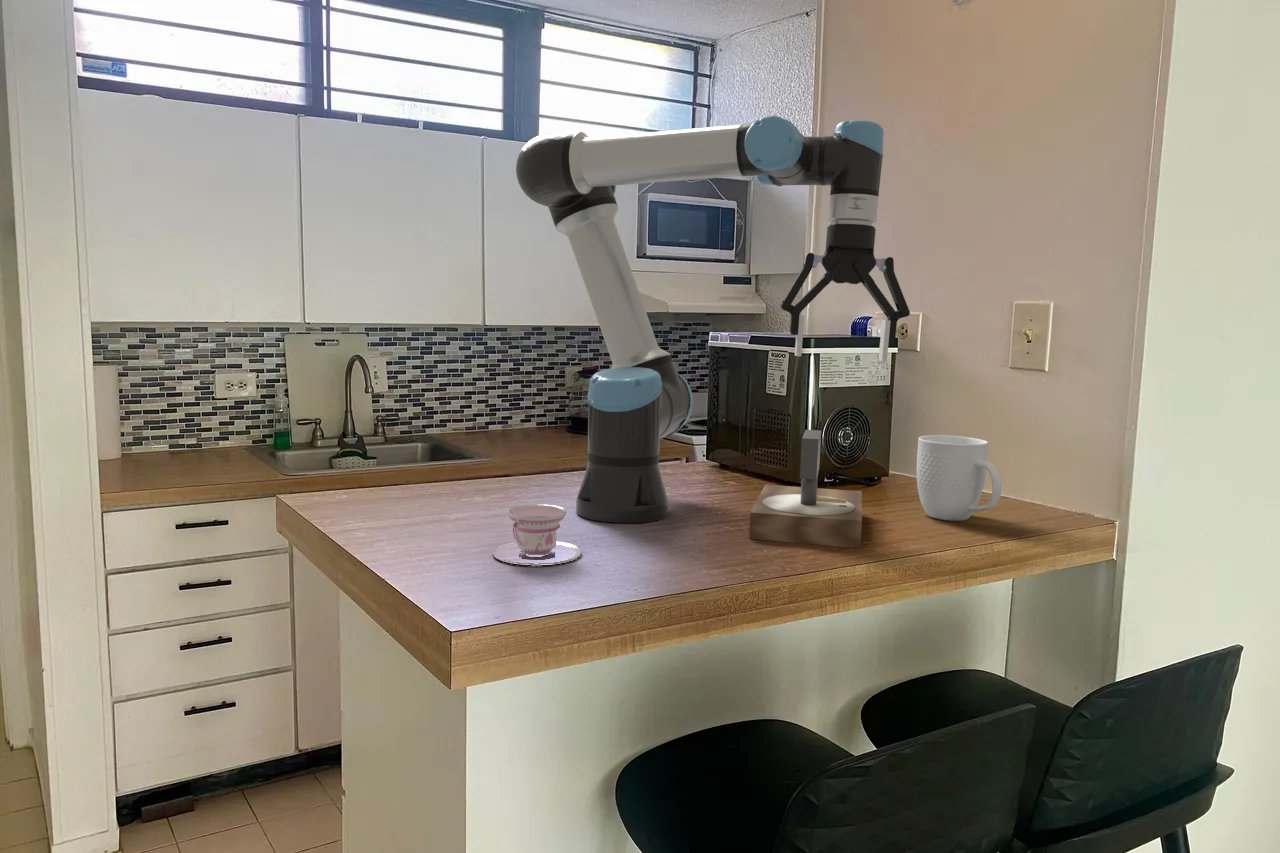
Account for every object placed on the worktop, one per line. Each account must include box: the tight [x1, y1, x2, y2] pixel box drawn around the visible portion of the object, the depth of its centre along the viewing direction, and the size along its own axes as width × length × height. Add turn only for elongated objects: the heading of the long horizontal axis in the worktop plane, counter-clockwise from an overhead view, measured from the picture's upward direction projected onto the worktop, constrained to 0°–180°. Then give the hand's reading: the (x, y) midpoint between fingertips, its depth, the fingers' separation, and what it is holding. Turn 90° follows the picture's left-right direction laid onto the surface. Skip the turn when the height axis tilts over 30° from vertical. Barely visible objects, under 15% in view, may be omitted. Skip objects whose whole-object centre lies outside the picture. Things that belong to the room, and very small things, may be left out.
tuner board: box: [748, 484, 863, 549], centre depth 142 cm, size 16×22×4 cm
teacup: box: [498, 503, 582, 565], centre depth 122 cm, size 12×12×6 cm
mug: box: [915, 434, 1002, 522], centre depth 149 cm, size 15×11×13 cm
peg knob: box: [799, 429, 846, 505], centre depth 138 cm, size 7×10×11 cm
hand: (840, 358), depth 146 cm, fingers open, 13 cm apart
